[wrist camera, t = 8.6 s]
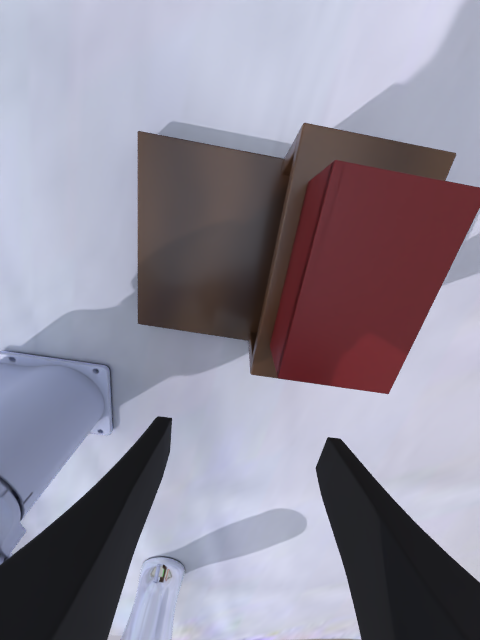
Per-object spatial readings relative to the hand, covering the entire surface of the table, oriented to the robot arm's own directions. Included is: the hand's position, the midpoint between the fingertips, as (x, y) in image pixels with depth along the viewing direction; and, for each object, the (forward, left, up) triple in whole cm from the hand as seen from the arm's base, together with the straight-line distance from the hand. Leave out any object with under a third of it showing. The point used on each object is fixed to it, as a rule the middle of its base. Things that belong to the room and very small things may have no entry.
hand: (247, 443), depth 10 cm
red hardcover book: (+3, +7, -4) cm, 9 cm away
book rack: (-1, +7, -10) cm, 12 cm away
